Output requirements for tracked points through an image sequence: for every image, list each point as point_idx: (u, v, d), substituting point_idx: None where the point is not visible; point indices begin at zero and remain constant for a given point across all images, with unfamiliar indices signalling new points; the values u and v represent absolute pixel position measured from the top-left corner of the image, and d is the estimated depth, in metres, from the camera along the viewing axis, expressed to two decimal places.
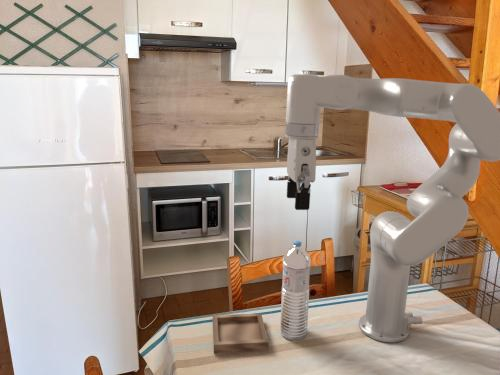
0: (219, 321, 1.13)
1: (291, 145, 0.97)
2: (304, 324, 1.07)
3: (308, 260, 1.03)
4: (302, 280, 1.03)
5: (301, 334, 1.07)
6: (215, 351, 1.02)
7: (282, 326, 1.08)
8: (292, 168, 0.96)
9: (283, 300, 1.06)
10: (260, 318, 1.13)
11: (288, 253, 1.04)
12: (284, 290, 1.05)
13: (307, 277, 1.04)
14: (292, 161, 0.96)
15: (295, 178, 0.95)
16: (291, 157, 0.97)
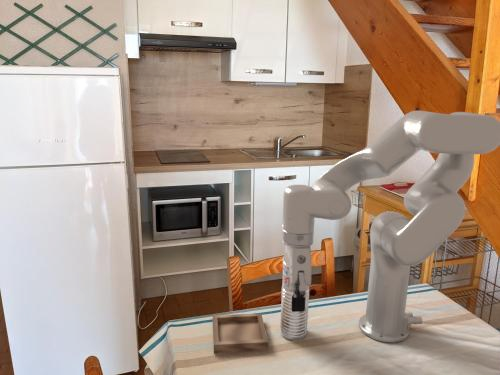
0: (219, 321, 1.13)
1: (288, 251, 1.03)
2: (304, 324, 1.07)
3: None
4: None
5: (301, 334, 1.07)
6: (215, 351, 1.02)
7: (282, 326, 1.08)
8: (289, 272, 1.03)
9: (283, 300, 1.06)
10: (260, 318, 1.13)
11: None
12: (284, 290, 1.05)
13: None
14: (289, 266, 1.02)
15: (292, 283, 1.01)
16: None
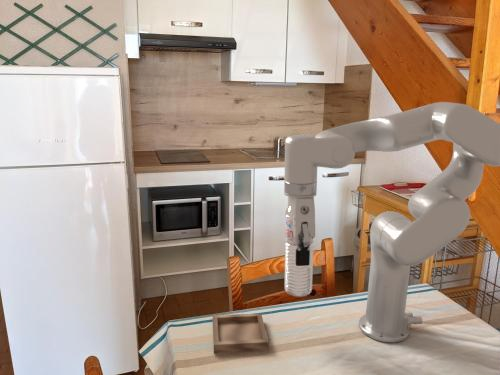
0: (219, 321, 1.13)
1: (290, 203, 1.00)
2: (309, 280, 1.04)
3: None
4: None
5: (306, 290, 1.04)
6: (215, 351, 1.02)
7: (286, 283, 1.05)
8: (292, 225, 1.00)
9: (287, 255, 1.03)
10: (260, 318, 1.13)
11: None
12: (287, 244, 1.02)
13: None
14: (292, 218, 1.00)
15: (296, 235, 0.99)
16: None
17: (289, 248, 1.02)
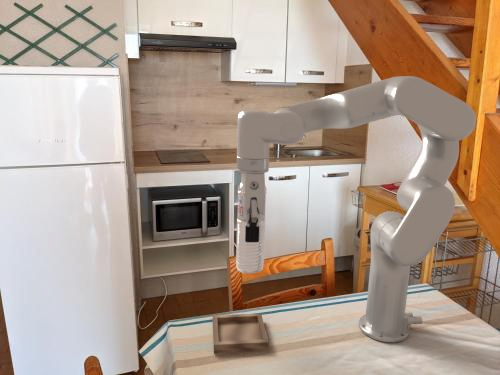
0: (219, 321, 1.13)
1: (242, 178, 1.00)
2: (259, 257, 1.03)
3: None
4: None
5: (256, 267, 1.04)
6: (215, 351, 1.02)
7: (237, 259, 1.05)
8: (243, 201, 0.99)
9: (238, 231, 1.03)
10: (260, 318, 1.13)
11: None
12: (238, 220, 1.02)
13: None
14: None
15: (245, 211, 0.98)
16: None
17: (240, 224, 1.02)
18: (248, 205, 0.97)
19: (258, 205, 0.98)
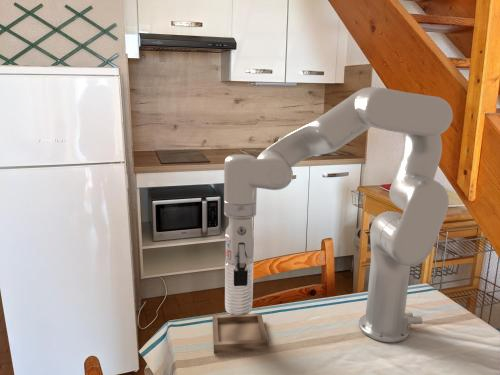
0: (219, 321, 1.13)
1: (229, 222, 1.00)
2: (248, 299, 1.03)
3: None
4: None
5: (245, 310, 1.04)
6: (215, 351, 1.02)
7: (226, 302, 1.05)
8: (231, 245, 0.99)
9: (226, 274, 1.03)
10: (260, 318, 1.13)
11: None
12: (227, 264, 1.02)
13: None
14: None
15: (233, 256, 0.98)
16: (230, 234, 1.00)
17: (228, 267, 1.02)
18: (236, 250, 0.97)
19: (246, 250, 0.98)
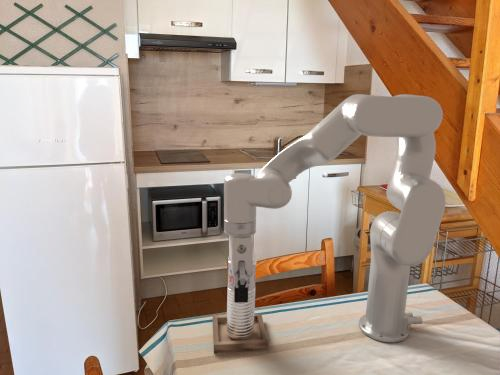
0: (219, 321, 1.13)
1: (229, 240, 1.01)
2: (249, 324, 1.05)
3: (253, 259, 1.01)
4: None
5: (246, 334, 1.05)
6: (215, 351, 1.02)
7: (227, 326, 1.06)
8: (231, 263, 1.00)
9: (228, 299, 1.04)
10: (260, 318, 1.13)
11: None
12: (229, 289, 1.03)
13: (252, 276, 1.02)
14: (230, 256, 1.00)
15: (233, 273, 0.99)
16: (230, 252, 1.01)
17: (230, 293, 1.03)
18: (236, 268, 0.99)
19: (246, 265, 0.99)
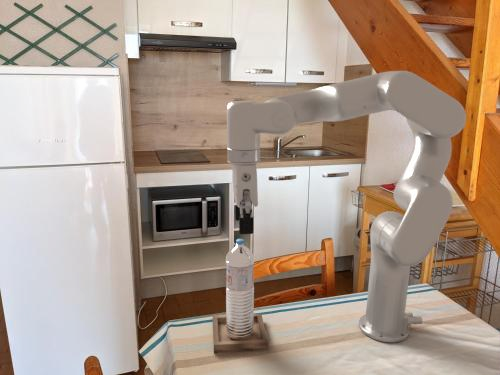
0: (219, 321, 1.13)
1: (233, 170, 0.98)
2: (249, 324, 1.05)
3: (250, 258, 1.01)
4: (244, 279, 1.01)
5: (246, 334, 1.05)
6: (215, 351, 1.02)
7: (227, 326, 1.06)
8: (235, 193, 0.98)
9: (227, 299, 1.05)
10: (260, 318, 1.13)
11: (230, 251, 1.02)
12: (227, 289, 1.04)
13: (250, 276, 1.02)
14: (234, 186, 0.97)
15: (237, 203, 0.96)
16: (234, 182, 0.98)
17: (229, 293, 1.03)
18: (241, 197, 0.96)
19: (251, 194, 0.96)
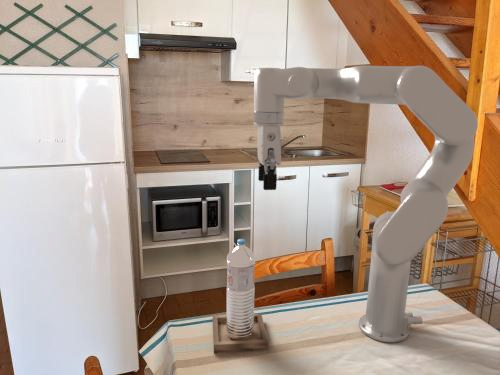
0: (219, 321, 1.13)
1: (259, 132, 1.07)
2: (249, 324, 1.05)
3: (251, 259, 1.01)
4: (245, 279, 1.01)
5: (246, 334, 1.05)
6: (215, 351, 1.02)
7: (227, 326, 1.06)
8: (260, 152, 1.07)
9: (227, 299, 1.04)
10: (260, 318, 1.13)
11: (231, 251, 1.02)
12: (228, 289, 1.04)
13: (251, 276, 1.02)
14: (260, 146, 1.07)
15: (262, 161, 1.06)
16: (259, 142, 1.07)
17: (229, 293, 1.03)
18: (266, 155, 1.05)
19: (275, 152, 1.05)
